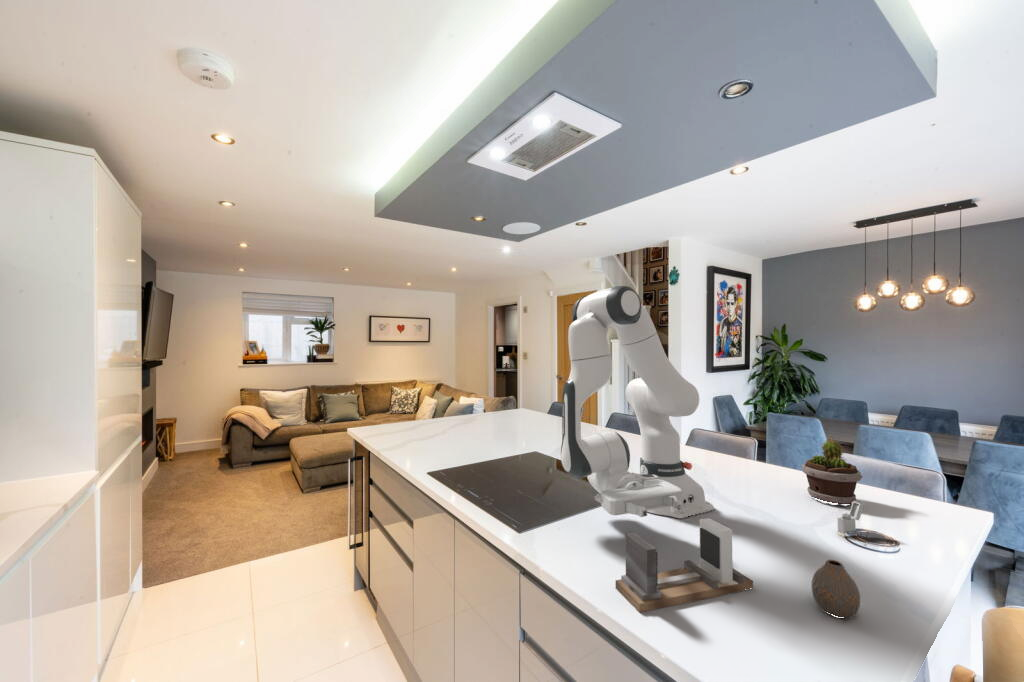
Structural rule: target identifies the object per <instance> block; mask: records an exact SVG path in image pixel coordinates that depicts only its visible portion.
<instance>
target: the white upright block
mask: <svg viewBox="0 0 1024 682" xmlns="http://www.w3.org/2000/svg"><path fill="white" fill-rule="evenodd" d="M699 565H700V568H701V569H703V570H704V571H706V572H707V573H709V574H710V575H712V576H713V577H715V578H716V579H717V580H718V581H720V582H721V583H726V582H731V581H733V569H734V568H733V567H734V566H733V529H731V528H729V527H727V526H725V525H723V524H722V523H720V522H717V521H716V520H714V519H711V518H709V517H708V518H701V519H699Z"/></svg>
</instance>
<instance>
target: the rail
mask: <svg viewBox="0 0 1024 682" xmlns="http://www.w3.org/2000/svg"><path fill="white" fill-rule="evenodd" d="M683 566H684V568H677V569H671V570H666V571H665V570H664V571H660V572H658V552H657V548H656V547H655V546H654V545H652V544H650V543H649V542H647V540H645V539H644V538H643V537H641V536H640V535H638V534H637V533H635V532H631V533H625V574H623V575H621V577H620V579H615V589H616V590H617V591H618V592H619V593H620V594H621V595H622V596H623V598H625V599H626V601H628V602H629V604H630V605H631V606H633V608H634V607H635V608H636V609H637V610H636V611H637V612H638V613H644V612H648V611H653V610H657V609H663V608H666V607H667V608H668V607H672V606H677V605H682V604H687V603H692V602H697V601H701V600H706V599H710V598H715V596H716V597H720V595H721V596H725V595H724V594H726V595H729V594H728V593H730V594H734V593H733V592H735V593H739V592H738V591H740V592H743V591H742V590H745V589H750V588H753V589H754V580H753V579H751V578H749V577H747V576H746V575H745V574H744V573H741V572H739V571H738V570H737V569H735V568H733V581H731V582H726V583H721V582H720V581H718V580H717V579H716V578H715V577H713V576H712V575H710V574H709V573H707V572H706V571H704V570H703V569H701V568H700V564H698V565H697V564H696V563H694V562H693V561H691V560H690V559H687V560H683ZM750 590H751V589H750ZM745 591H746V590H745Z"/></svg>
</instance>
